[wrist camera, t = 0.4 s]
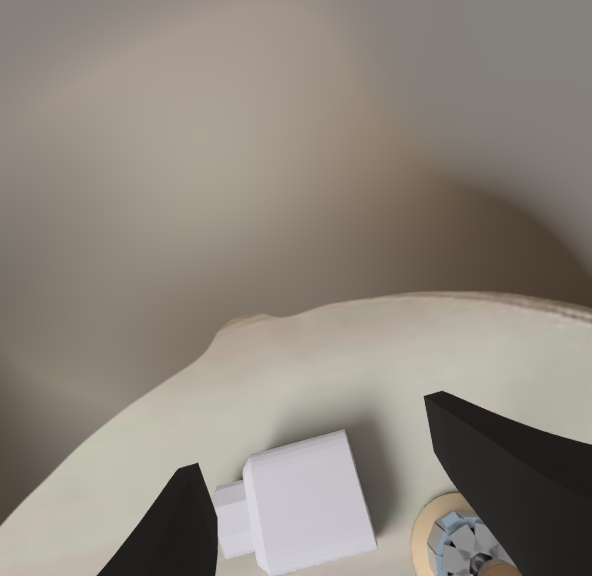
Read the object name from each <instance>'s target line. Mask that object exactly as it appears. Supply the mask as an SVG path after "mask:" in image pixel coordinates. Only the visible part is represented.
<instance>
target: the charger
mask: <svg viewBox="0 0 592 576" xmlns="http://www.w3.org/2000/svg"><path fill="white" fill-rule="evenodd" d="M356 468H357V467H356V464H355V461H354V457H353V454H352V451H351V447H350V444H349V440H348V437H347V434H346V431H345V430H344V429H342V430H338V431H335V432H331V433H327V434H324V435H320V436H317V437H313V438H309V439H306V440H302V441H298V442H295V443H291V444H288V445H284V446H280V447H277V448H273V449H269V450H266V451H262V452H258V453H255V454H251V455H250V457H249V459H248V461H247V463H246V464H245V466H244V468H243V480H239V481H235V482H232V483H228V484H224V485H221V486H217V487H216V491H215V512H216V514H217V517H218V537H219V541H220V544H221V547H222V551H223V554H224V557H225V558H226V559H229V558H233V557H237V556H241V555H244V554H248V553H252V552H255V553H256V559H257V563H258V565H259V566H260V567H261V568H262V569H263V570H265V571H266V572H267V573H268V574H269V575H270V576H277V575H281V574H285V573H289V572H293V571H297V570H301V569H304V568H308V567H312V566H316V565H320V564H324V563H328V562H332V561H335V560H339V559H343V558H347V557H351V556H355V555H359V554H363V553H366V552H370V551H374V550H378V546H377V540H376V536H375V532H374V529H373V525H372V521H371V518H370V514H369V510H368V506H367V503H366V501H365V500H366V499H365V496H364V494H363V493H364V492H363V489H362V487H361V486H362V485H361V482H360V478H359V476H358V475H359V474H358V471H357V469H356Z"/></svg>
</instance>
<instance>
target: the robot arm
mask: <svg viewBox="0 0 592 576" xmlns="http://www.w3.org/2000/svg"><path fill="white" fill-rule="evenodd" d="M424 400H425V406H426V411H427V417H428V422H429V427H430V433H431V438H432V443H433V449H434V453H435V454H436V456H437V458H438V459H439V461H440V463H441V465H442V466H443V468H444V470H445V471H446V473H447V475H448V476H449V478H450V479H451V481H452V482H453V484H454V485H455V486H456V488H457V489H458V490H459V492H460V493H461V494H462V496H463V497H464V498H465V500H466V501H467V502H468V503H469V505H470V506H471V507H472V509H473V510H474V511H475V512H476V514H477V515H478V516H479V518H480V519H481V520H482V521H483V523H484V524H485V525H486V527H487V528H488V529H489V531H490V532H491V533H492V534H493V536H494V537H495V538H496V540H497V541H498V542H499V543H500V545H501V546H502V547H503V549H504V550H505V551H506V553H507V554H508V556H509V557H510V558H511V560H512V561H513V563H514V564H515V565H516V567H517V569H518V570H519V572H520V573H521V575H522V576H592V445H591V444H587V443H583V442H579V441H575V440H572V439H568V438H565V437H561V436H558V435H554V434H551V433H548V432H544V431H541V430H538V429H535V428H533V427H530V426H527V425H524V424H521V423H519V422H516V421H513V420H511V419H508V418H506V417H503V416H501V415H498V414H496V413H493V412H491V411H488V410H486V409H484V408H481V407H479V406H477V405H474V404H472V403H470V402H468V401H465V400H463V399H461V398H458V397H456V396H454V395H452V394H449V393H447V392H444V391H440V392H436V393H433V394H430V395H426V396H424ZM217 555H218V517H217V514H216V512H215V509H214V506H213V503H212V500H211V498H210V495H209V492H208V489H207V487H206V484H205V481H204V478H203V475H202V473H201V470H200V467H199V464H198V463H196V464H192V465H189V466H185V467H182V468H179V469H178V470H177V471H176V472H175V473H174V475H173V476H172V478H171V479H170V480H169V482H168V483H167V485H166V486H165V487H164V489H163V490H162V492H161V493H160V495H159V496H158V498H157V499H156V500H155V502H154V503H153V505H152V506H151V507H150V509H149V510H148V511H147V513H146V514H145V516H144V517H143V518H142V520H141V521H140V523H139V524H138V525H137V527H136V528H135V529H134V530H133V532H132V533H131V534H130V536H129V537H128V538H127V539H126V541H125V542H124V543H123V544H122V546H121V547H120V548H119V550H118V551H117V552H116V553H115V555H114V556H113V557H112V558H111V560H110V561H109V562H108V563H107V564H106V566H105V567H104V568H103V569H102V570H101V571H100V573H99V574H98V575H97V576H215V573H216V564H217Z"/></svg>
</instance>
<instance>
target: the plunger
mask: <svg viewBox="0 0 592 576" xmlns="http://www.w3.org/2000/svg"><path fill="white" fill-rule="evenodd" d="M473 534H474V532H473ZM451 546H453V547H455V545H454V544H453V543H452V545H451ZM469 573H470V574H471V576H522V575H521V573H520V572H519V570H518V569H517V568H516V567H514V566H513V565H512V564H510V563H508V562H507V561H504V560H501V559H493V558H492V557H491V556H490V555H487V554H484V553H480V552H479V553H478V554H476V555H475V556H474V557H472V558H471V559H470V568H469Z"/></svg>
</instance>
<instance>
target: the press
mask: <svg viewBox="0 0 592 576" xmlns="http://www.w3.org/2000/svg"><path fill="white" fill-rule="evenodd" d="M473 532H474V534H473ZM452 543H453V544H454V545H455V547H453V546H451V545H452ZM479 552H480V553H484V554H487V555H490V556H491V557H492V558H493V559H501V560H504V561H507V562H508V563H510V564H512V565H513V566H514V567H516V565H515V564H514V563H513V561H512V560H511V558H510V557H509V556H508V554H507V553H506V551H505V550H504V549H503V547H502V546H501V545H500V543H499V542H498V541H497V540H496V538H495V537H494V536H493V534H492V533H491V532H490V531H489V529H488V528H487V527H486V525H485V524H484V523H483V521H482V520H481V519H480V518H479V516H478V515H477V514H476V512H475V511H474V510H473V509H472V507H471V506H470V505H469V503H468V502H467V501H466V500H465V498H464V497H463V496H462V494H461V493H450V494H445V495H442V496H439V497H437V498H435V499H433V500H432V501H430V502H429V503H428V504H427V505H426V506H425V507H424V508H423V509H422V510H421V512H420V513H419V515H418V517H417V519H416V521H415V524H414V527H413V530H412V536H411V553H412V559H413V564H414V567H415V570H416V573H417V575H418V576H471V574H470V573H469V568H470V559H471V558H472V557H474V556H475V555H476V554H478V553H479ZM516 568H517V567H516Z"/></svg>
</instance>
